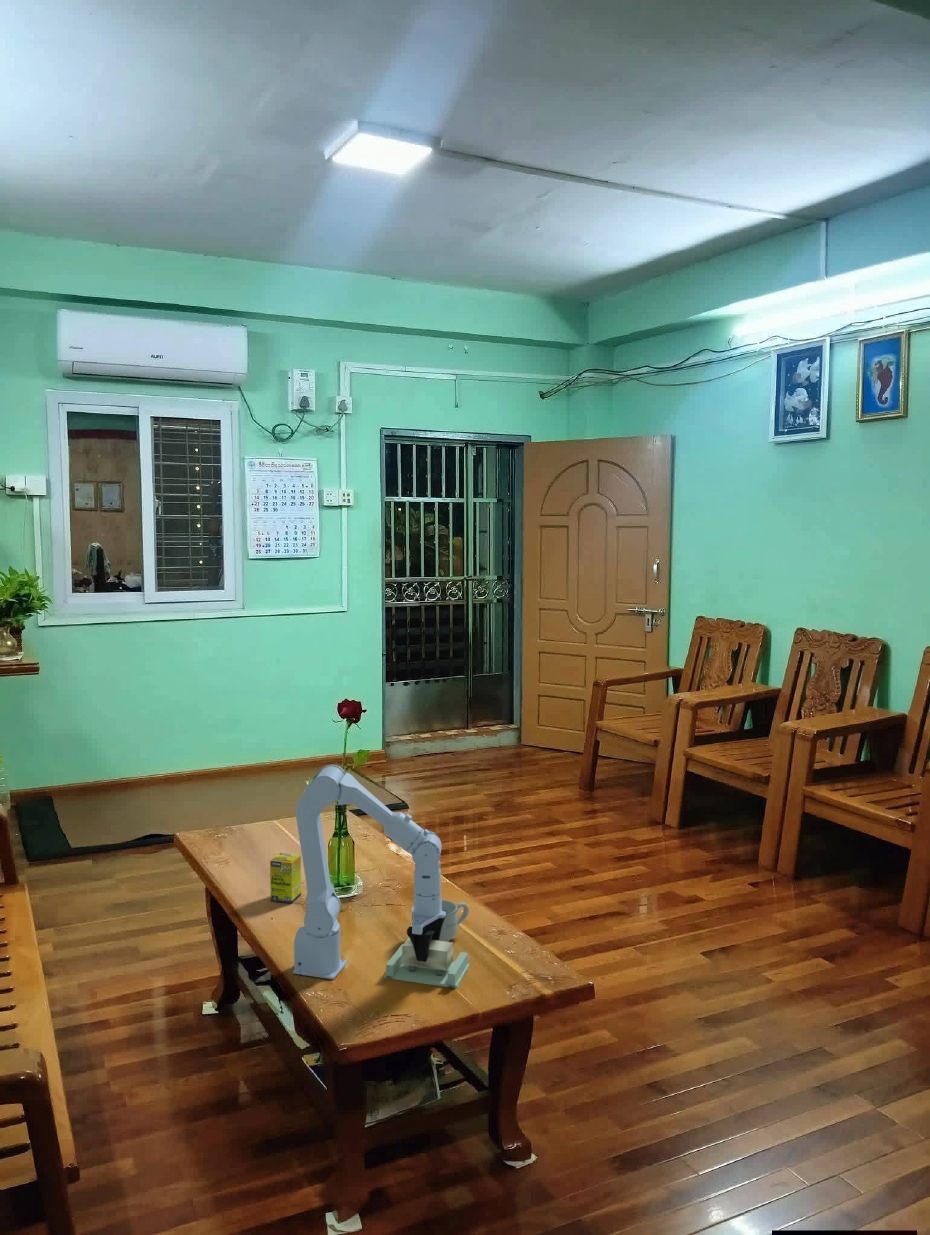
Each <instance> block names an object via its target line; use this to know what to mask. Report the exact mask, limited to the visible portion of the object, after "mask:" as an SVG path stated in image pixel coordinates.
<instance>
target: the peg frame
mask: <svg viewBox="0 0 930 1235" xmlns="http://www.w3.org/2000/svg"><path fill="white" fill-rule="evenodd" d="M403 944H404V943H402V944H401V945H400V946H399V948H398V949H397V950H396V951H395V952H394V954H393V955H392V956H391V958H390V959H389V960H388V961H387V963H386V964H385V974H384V975H383V976H384V979H390V980H396V981H403V982H409V983H410V982H411V983H417V984H424V985H431V986H436V987H445V988H449V989H450V988H453V989H458V988H459V985H461V983H462V980H463V979H464V977H465V976H466V974H467V972H468V970H469V968H470V967H471V963H469V952H463V951H461V952H459V954H458V956H457V958H456V959H455V961H454V960H453V962H452V964H451V965H450V967H449V968H448V970H447V971H446V970H439V969H432V968H424V967H417V966H410V965H403V964H402V945H403Z"/></svg>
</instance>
